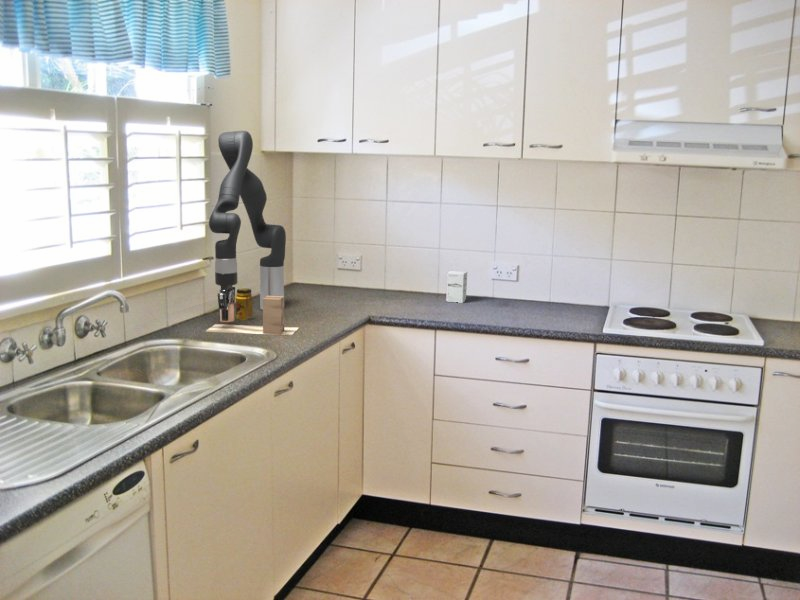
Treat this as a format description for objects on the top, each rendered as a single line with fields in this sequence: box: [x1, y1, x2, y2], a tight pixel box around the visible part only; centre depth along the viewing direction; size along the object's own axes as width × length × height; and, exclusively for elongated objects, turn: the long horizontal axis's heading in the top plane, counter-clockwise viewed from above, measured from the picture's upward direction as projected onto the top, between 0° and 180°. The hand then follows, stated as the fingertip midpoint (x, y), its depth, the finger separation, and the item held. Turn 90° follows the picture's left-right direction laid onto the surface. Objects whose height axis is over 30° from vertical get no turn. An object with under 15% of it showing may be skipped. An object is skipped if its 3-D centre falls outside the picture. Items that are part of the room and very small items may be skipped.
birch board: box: [205, 323, 299, 336], centre depth 292 cm, size 12×30×1 cm, turn 85°
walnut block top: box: [262, 295, 285, 317], centre depth 287 cm, size 6×6×6 cm
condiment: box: [235, 288, 254, 322], centre depth 308 cm, size 7×8×12 cm
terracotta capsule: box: [219, 303, 235, 323], centre depth 294 cm, size 5×5×6 cm
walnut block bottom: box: [262, 313, 285, 335], centre depth 288 cm, size 6×6×6 cm
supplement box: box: [445, 270, 468, 304], centre depth 357 cm, size 7×7×13 cm
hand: (227, 318), depth 295 cm, fingers closed on terracotta capsule, 4 cm apart
